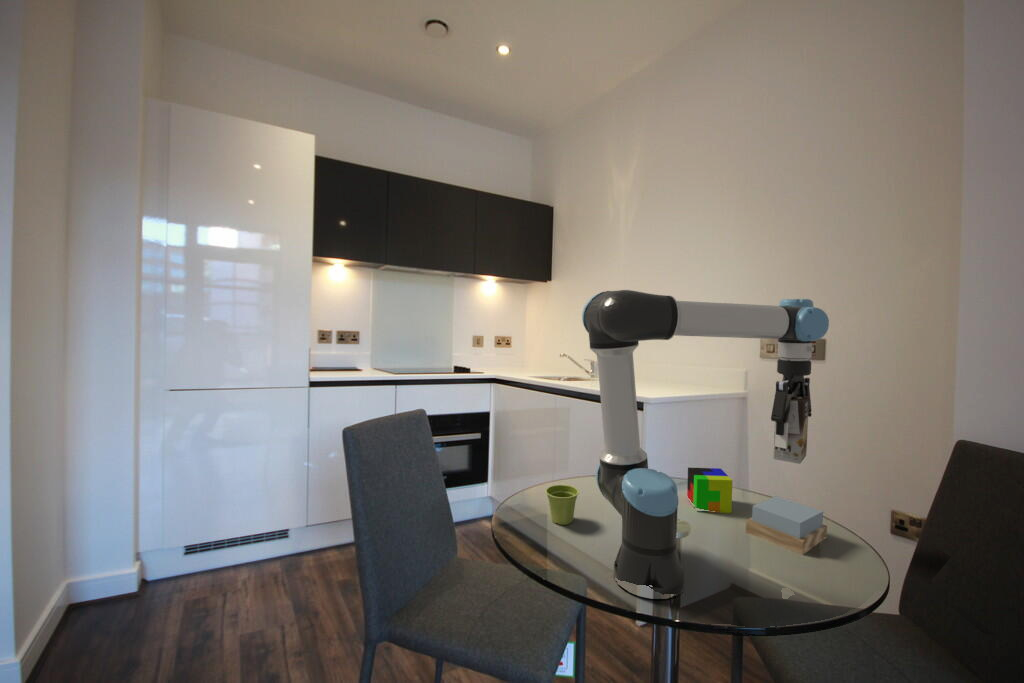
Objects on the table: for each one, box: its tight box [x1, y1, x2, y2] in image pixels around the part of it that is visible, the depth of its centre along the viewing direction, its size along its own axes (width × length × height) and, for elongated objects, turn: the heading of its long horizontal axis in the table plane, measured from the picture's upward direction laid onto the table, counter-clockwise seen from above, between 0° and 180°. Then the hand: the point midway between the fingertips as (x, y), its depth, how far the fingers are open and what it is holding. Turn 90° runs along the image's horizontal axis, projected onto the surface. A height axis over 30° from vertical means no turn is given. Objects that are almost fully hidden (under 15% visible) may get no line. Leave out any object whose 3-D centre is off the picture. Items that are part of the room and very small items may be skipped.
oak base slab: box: [745, 517, 828, 556], centre depth 124 cm, size 14×14×4 cm
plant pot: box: [545, 484, 580, 526], centre depth 133 cm, size 9×9×9 cm
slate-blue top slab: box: [751, 495, 824, 539], centre depth 124 cm, size 12×12×4 cm
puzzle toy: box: [686, 467, 734, 514], centre depth 143 cm, size 10×10×10 cm
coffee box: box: [772, 396, 809, 465], centre depth 122 cm, size 9×6×16 cm
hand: (790, 443), depth 122 cm, fingers closed on coffee box, 10 cm apart
